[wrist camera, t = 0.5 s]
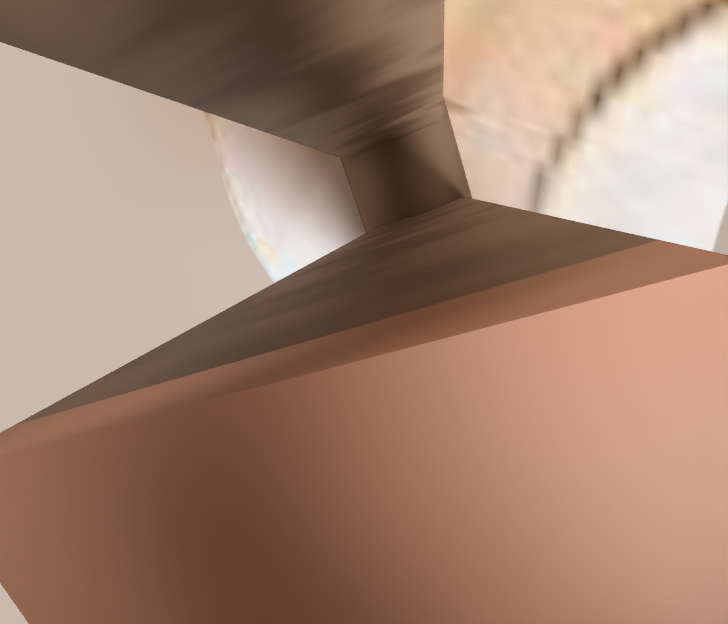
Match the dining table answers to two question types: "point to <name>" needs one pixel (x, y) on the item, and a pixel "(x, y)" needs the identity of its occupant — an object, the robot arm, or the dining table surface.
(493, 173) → the dining table surface
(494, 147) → the dining table surface
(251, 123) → the walnut rack
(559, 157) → the dining table surface
